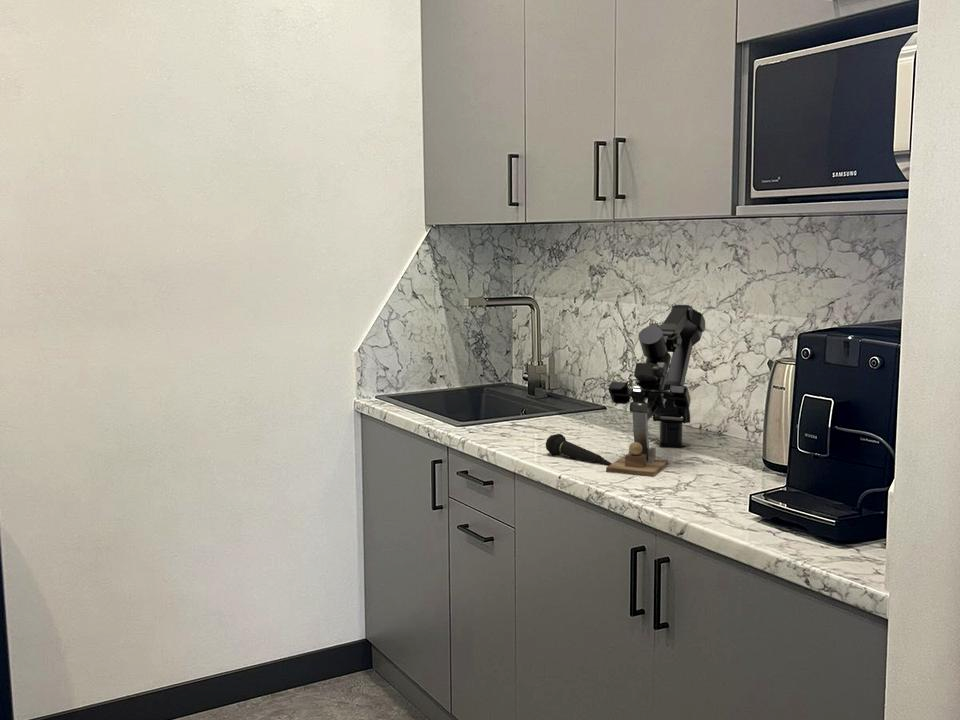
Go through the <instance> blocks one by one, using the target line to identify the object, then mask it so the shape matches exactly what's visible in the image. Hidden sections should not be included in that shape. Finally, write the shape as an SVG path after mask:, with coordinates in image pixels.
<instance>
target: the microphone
mask: <svg viewBox="0 0 960 720" xmlns="http://www.w3.org/2000/svg"><path fill="white" fill-rule="evenodd" d="M545 448H546V449H545V450H546V451H547V452H548V453H549V454H550V455H551V456H553V457H555V456H556V455H557V456H561V455H563V456H565V457H569V458H570V459H573V460H579V461H582V462H583V461H584V462H587V463H590V464H595V465H604V466H607V467H608V466H609V465H611V464H612V463H613V462H611V461H609V460H607V459H605V457H602V455H600V454H598V453H595V452H593V451H592V450H588V449H586V448H584V447H581V446H579V445H577V444H574V443H572V442H570V441H568V440H567V439H566V437H565V436H564V435H563V434H561V433H557V434H552V435H549V436H548V437H547V439H546V441H545ZM557 456H556V457H557Z"/></svg>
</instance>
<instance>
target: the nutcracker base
mask: <svg viewBox="0 0 960 720" xmlns="http://www.w3.org/2000/svg"><path fill="white" fill-rule="evenodd" d="M628 451H629V452H628V453H627V454H625V455H624V456H622V457H620V458H618V459H617V460H616V461H614V462H611V463H612V464H611V465H609V466H608V465H607V466H606V467H605V472H606V473H613V474H614V473H615V474H623V475H624V474H625V475H633V476H634V475H636V476H644V477H653V478H654V477H656V475H658V474H659V473H661V471H663V470H664V469H665V468H666V467H668V466H670V465H669V463H670V462H669V460H667V459H666V460H664V459H656V447H654V446H653V447H649V450H648V460H646V455H644V454H640V453H641V452H642V446H641V444H640V443H638V442H634V441H633V442H631V443H630V445H629V447H628Z"/></svg>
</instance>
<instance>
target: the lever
mask: <svg viewBox="0 0 960 720" xmlns="http://www.w3.org/2000/svg"><path fill="white" fill-rule="evenodd" d="M629 413H632V425H633V426H632V428H633V429H632V430H633V442H638V443H640V444H641V446H642V452H641V453H640V454H644V455H646V460H648V450H649V449H650V440H649V422H648V421H649V420H648V419H647V413H649V403H647V402H646V403H641V402H633V401H630V402H629Z"/></svg>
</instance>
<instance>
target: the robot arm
mask: <svg viewBox="0 0 960 720" xmlns="http://www.w3.org/2000/svg"><path fill="white" fill-rule="evenodd" d="M705 330H706V320H705V317H704V316H703V313H701V312H699V311H697V310H696V309H695V308H694V307H693V305H689V304H674V305H672V306H671V309H670V312H669V314H668V315H667V316H666V318H665V320H664V321H663V323H662V324H659V323H657V322H655V323H654V322H650V323H649V325H648V326H645V327H644V328H643V329H641V331H639V332H638V336H637V337H638V340H639V344H640V347H641V350H642V354H643V356H644V357H646V360H645V362H636V363H635V369H634V378H636V380H635V384H636V386H634V385H633V386H632V388H629V384H628V382H627V381H611V382H610V383H609V386H608V393H609V394H610V399H611V401H612V403H613V404H617V405H618V404H619V405H620V404H621V405H626V404H629V403H630V402H631V399H632V402H641V403H649V413H647V419H648V421H649V420H650V419H652V422H659V439H656V443H657V445H658V446H659V447H661V448H663V447H670V448H671V447H673V448H675V447H677V448H678V447H682V448H683V447H686V444H685V442H684V441H683V424H690V423H691V411H690V405H691V400H692V399H691V395H690V390H689V388H688V386H686V385H685V382H686V378H687V372H688V368H689V364H690V359H691V355H692V351H693V350H692V349H693V346H695V345H697V343H699V342H700V340H701V339H702V335H703V332H705ZM670 353H672V354H670ZM646 400H647V402H646Z"/></svg>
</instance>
